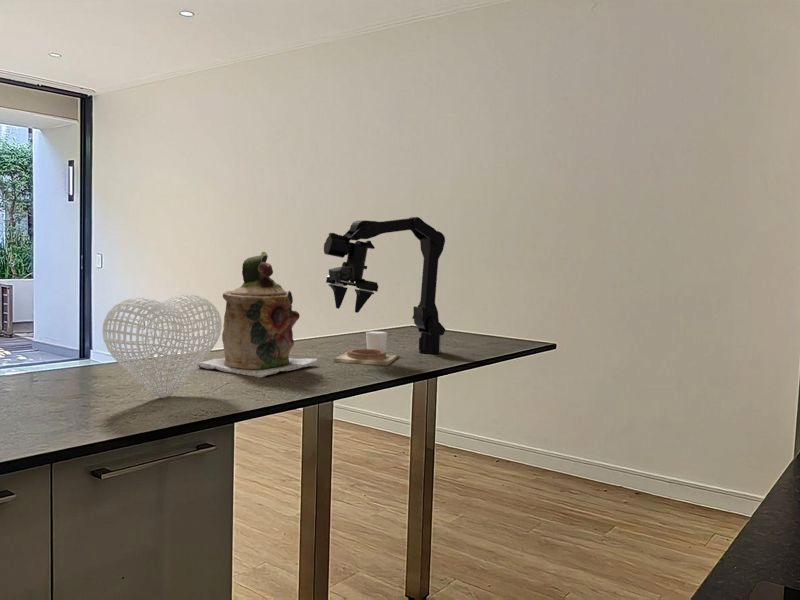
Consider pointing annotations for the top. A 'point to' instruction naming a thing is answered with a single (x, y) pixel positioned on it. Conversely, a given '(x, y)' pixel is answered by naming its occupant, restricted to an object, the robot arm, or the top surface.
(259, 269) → the cookie jar
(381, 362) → the collar board
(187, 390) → the top surface
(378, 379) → the top surface
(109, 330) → the heart
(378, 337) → the white cylinder
